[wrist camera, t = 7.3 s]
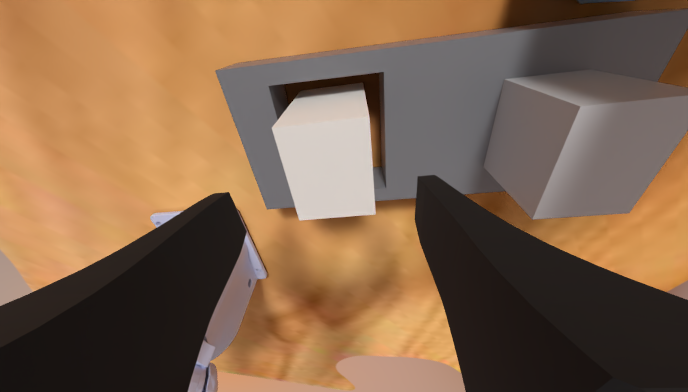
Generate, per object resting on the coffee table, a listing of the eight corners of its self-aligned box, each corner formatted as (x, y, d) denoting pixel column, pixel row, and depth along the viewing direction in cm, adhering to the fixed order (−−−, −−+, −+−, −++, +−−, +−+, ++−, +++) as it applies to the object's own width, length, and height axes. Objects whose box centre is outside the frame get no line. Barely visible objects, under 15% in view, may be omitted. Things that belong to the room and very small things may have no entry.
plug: (368, 154, 18) (375, 214, 12) (315, 160, 19) (299, 220, 13) (362, 82, 15) (369, 116, 10) (300, 90, 16) (271, 127, 10)
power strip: (565, 162, 18) (686, 240, 12) (277, 186, 20) (241, 265, 13) (633, 10, 13) (921, -4, 6) (237, 63, 15) (147, 93, 8)
